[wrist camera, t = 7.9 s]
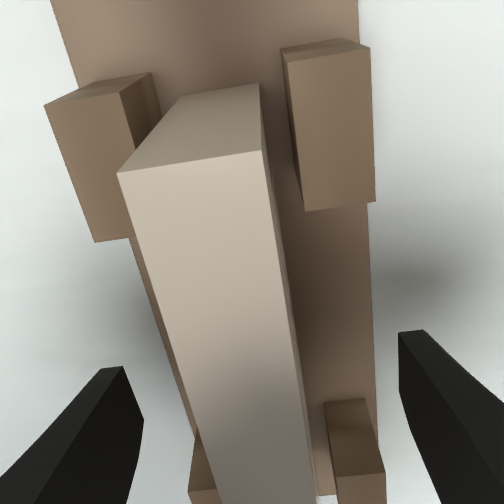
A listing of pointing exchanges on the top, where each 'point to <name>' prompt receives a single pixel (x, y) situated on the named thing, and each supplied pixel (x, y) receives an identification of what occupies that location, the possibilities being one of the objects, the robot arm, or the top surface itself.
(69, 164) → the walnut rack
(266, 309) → the clay strip
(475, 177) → the top surface
